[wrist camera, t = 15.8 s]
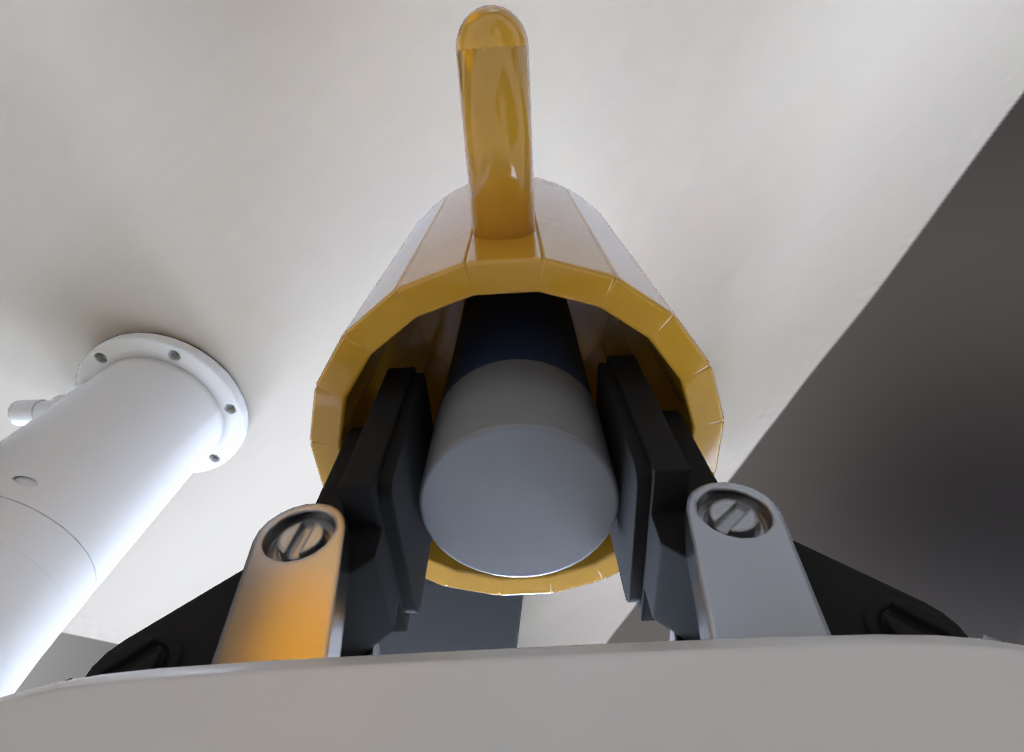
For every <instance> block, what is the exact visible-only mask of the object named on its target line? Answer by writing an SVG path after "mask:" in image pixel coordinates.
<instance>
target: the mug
mask: <svg viewBox="0 0 1024 752" xmlns="http://www.w3.org/2000/svg"><path fill="white" fill-rule="evenodd" d="M456 56H457V67H458V77H459V88H460V99H461V109H462V120H463V131H464V142H465V152H466V163H467V174H468V185H465V186H463V187H461V188H459V189H457V190H455V191H454V192H452V193H450V194H449V195H447V196H446V197H444V198H443V199H442V200H441V201H439V202H438V203H437V204H436V205H434V206H433V207H432V208H431V209H430V210H429V212H428V213H427V214H426V215H425V216H424V217H423V218H422V219H421V220H420V221H419V222H418V223H417V225H416V226H415V228H414V229H413V230H412V232H411V233H410V235H409V236H408V238H407V239H406V241H405V242H404V244H403V245H402V247H401V248H400V250H399V251H398V253H397V254H396V256H395V257H394V259H393V260H392V262H391V263H390V265H389V266H388V268H387V269H386V271H385V272H384V274H383V275H382V277H381V278H380V280H379V281H378V283H377V284H376V286H375V287H374V289H373V290H372V291H371V293H370V294H369V296H368V297H367V299H366V300H365V302H364V303H363V305H362V306H361V308H360V309H359V311H358V312H357V314H356V315H355V317H354V318H353V320H352V321H351V323H350V324H349V326H348V327H347V329H346V330H345V332H344V333H343V335H342V336H341V338H340V340H339V342H338V344H337V346H336V347H335V349H334V351H333V353H332V355H331V357H330V359H329V361H328V363H327V364H326V366H325V368H324V370H323V372H322V374H321V376H320V378H319V379H318V381H317V387H316V388H315V391H314V401H313V412H312V422H311V433H310V440H311V448H312V451H313V454H314V458H315V461H316V465H317V468H318V471H319V475H320V478H321V481H322V485H323V487H324V484H325V482H326V480H327V478H328V476H329V474H330V471H331V469H332V467H333V465H334V463H335V460H336V458H337V456H338V454H339V452H340V450H341V447H342V445H343V443H344V441H345V439H346V436H347V434H348V432H349V431H350V429H352V428H358V427H364V424H365V422H366V419H367V417H368V415H369V412H370V410H371V408H372V405H373V403H374V400H375V398H376V396H377V393H378V391H379V389H380V386H381V384H382V381H383V379H384V377H385V374H386V372H387V370H388V368H402V367H415V369H416V372H417V373H424V374H425V376H426V381H427V388H428V394H429V401H430V407H431V414H432V420H433V427H434V426H435V422H436V417H437V413H438V410H439V407H440V405H441V402H442V400H443V397H444V393H445V388H446V384H447V379H448V375H449V370H450V366H451V361H452V357H453V353H454V348H455V344H456V339H457V335H458V330H459V326H460V321H461V317H462V312H463V308H464V304H465V299H466V298H469V297H472V296H475V295H492V294H509V293H526V292H541V293H545V294H549V295H553V296H557V297H561V298H565V299H567V302H568V306H569V310H570V314H571V317H572V321H573V325H574V329H575V333H576V337H577V341H578V345H579V349H580V352H581V356H582V360H583V364H584V368H585V372H586V376H587V380H588V384H589V387H590V391H591V395H592V398H593V400H594V402H595V404H596V407H597V368H598V363H606V360H607V356H615V355H632V354H634V356H635V358H636V360H637V362H638V364H639V366H640V368H641V370H642V372H643V374H644V376H645V378H646V380H647V382H648V384H649V386H650V388H651V390H652V392H653V394H654V396H655V398H656V400H657V402H658V404H659V406H660V408H661V410H662V411H668V410H676V411H678V412H679V413H680V415H681V416H682V418H683V420H684V422H685V424H686V425H687V427H688V429H689V431H690V433H691V435H692V436H693V438H694V440H695V442H696V444H697V446H698V448H699V449H700V451H701V453H702V455H703V457H704V459H705V460H706V462H707V464H708V466H709V468H710V470H711V471H712V473H713V475H714V472H716V467H717V461H718V455H719V449H720V442H721V436H722V430H723V424H724V422H723V419H724V417H723V412H722V408H721V404H720V400H719V395H718V391H717V387H716V383H715V378H714V374H713V370H712V367H711V366H710V364H709V361H708V360H707V358H706V357H705V355H704V354H703V353H702V351H701V350H700V348H699V347H698V346H697V344H696V343H695V341H694V340H693V339H692V337H691V336H690V335H689V333H688V332H687V330H686V329H685V328H684V326H683V325H682V323H681V322H680V321H679V319H678V318H677V316H676V315H675V314H674V312H673V311H672V310H671V308H670V307H669V306H668V304H667V303H666V302H665V300H664V299H663V298H662V296H661V295H660V294H659V292H658V291H657V289H656V288H655V287H654V285H653V284H652V283H651V281H650V280H649V279H648V277H647V276H646V275H645V273H644V272H643V271H642V269H641V268H640V267H639V265H638V264H637V262H636V261H635V260H634V258H633V257H632V256H631V254H630V253H629V252H628V250H627V249H626V248H625V246H624V245H623V244H622V242H621V241H620V240H619V238H618V237H617V236H616V234H615V233H614V231H613V230H612V229H611V227H610V226H609V225H608V223H607V222H606V221H605V219H604V218H603V217H602V215H601V214H600V213H599V212H598V211H597V210H596V209H595V208H594V207H592V206H591V205H590V204H589V203H588V202H587V201H585V200H584V199H583V198H582V197H580V196H579V195H577V194H576V193H574V192H572V191H571V190H569V189H567V188H565V187H563V186H561V185H558V184H556V183H554V182H551V181H547V180H544V179H540V178H535V177H533V155H532V128H531V101H530V74H529V47H528V38H527V35H526V32H525V29H524V27H523V25H522V23H521V22H520V20H519V19H518V18H517V17H516V16H515V15H514V14H513V13H512V12H511V11H509V10H508V9H506V8H504V7H501V6H497V5H485V6H482V7H479V8H477V9H475V10H474V11H472V12H471V13H470V14H469V15H468V16H467V17H466V18H465V19H464V21H463V23H462V24H461V26H460V29H459V32H458V35H457V40H456ZM618 572H619V568H618V564H617V560H616V556H615V552H614V547H613V543H612V539H611V535H610V533H609V534H608V536H607V537H606V539H605V540H604V541H603V542H602V543H601V545H600V546H599V547H598V548H597V549H596V550H595V551H593V552H592V553H591V554H590V555H589V556H587V557H586V558H584V559H583V560H581V561H580V562H578V563H576V564H574V565H572V566H570V567H567V568H565V569H562V570H560V571H557V572H553V573H549V574H545V575H540V576H532V577H505V576H498V575H492V574H488V573H484V572H481V571H477V570H475V569H472V568H470V567H468V566H465V565H464V564H462V563H460V562H458V561H456V560H455V559H453V558H452V557H450V556H449V555H448V554H446V553H445V552H444V551H443V550H442V549H441V548H440V547H439V546H438V545H437V544H436V543H435V542H434V540H433V539H432V540H431V546H430V552H429V559H428V565H427V571H426V577H425V579H428V580H430V581H433V582H435V583H437V584H440V585H442V586H448V587H451V588H456V589H462V590H468V591H474V592H480V593H486V594H492V595H499V594H500V595H502V596H505V595H527V594H549V593H552V591H553V592H555V593H556V592H560V591H564V590H567V589H571V588H575V587H578V586H582V585H586V584H590V583H593V582H597V581H601V580H603V579H604V578H608V577H610V576H612V575H614V574H616V573H618Z"/></svg>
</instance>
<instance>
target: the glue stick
mask: <svg viewBox="0 0 1024 752" xmlns="http://www.w3.org/2000/svg"><path fill="white" fill-rule="evenodd" d="M419 507H420V513H421V517H422V520H423V523H424V525H425V527H426V529H427V531H428V533H429V534H430V536H431V538H432V539H433V540H434V542H435V543H436V544H437V545H438V546H439V547H440V548H441V549H442V550H443V551H444V552H445V553H446V554H448V555H449V556H450V557H452V558H453V559H455V560H456V561H458V562H460V563H462V564H464V565H465V566H468V567H470V568H472V569H475V570H477V571H481V572H484V573H488V574H492V575H498V576H505V577H532V576H540V575H545V574H549V573H553V572H557V571H560V570H562V569H565V568H567V567H570V566H572V565H574V564H576V563H578V562H580V561H581V560H583V559H584V558H586V557H587V556H589V555H590V554H591V553H592V552H593V551H595V550H596V549H597V548H598V547H599V546H600V545H601V543H602V542H603V541H604V540H605V539H606V537H607V536H608V534H609V533H610V531H611V529H612V527H613V525H614V523H615V520H616V516H617V513H618V508H619V490H618V485H617V480H616V477H615V473H614V469H613V465H612V462H611V458H610V454H609V450H608V447H607V443H606V439H605V435H604V431H603V428H602V424H601V420H600V416H599V413H598V409H597V407H596V404H595V402H594V400H593V398H592V395H591V391H590V387H589V384H588V380H587V376H586V372H585V368H584V364H583V360H582V356H581V352H580V349H579V345H578V341H577V337H576V333H575V329H574V325H573V321H572V317H571V314H570V310H569V306H568V302H567V299H565V298H561V297H557V296H553V295H549V294H545V293H541V292H526V293H509V294H492V295H475V296H472V297H469V298H466V299H465V304H464V308H463V312H462V317H461V321H460V326H459V330H458V335H457V339H456V344H455V348H454V353H453V357H452V361H451V366H450V370H449V375H448V379H447V384H446V388H445V393H444V397H443V400H442V402H441V405H440V407H439V410H438V413H437V417H436V422H435V426H434V430H433V435H432V439H431V443H430V448H429V452H428V456H427V460H426V465H425V469H424V473H423V478H422V482H421V486H420V491H419Z"/></svg>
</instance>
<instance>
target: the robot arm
mask: <svg viewBox="0 0 1024 752" xmlns="http://www.w3.org/2000/svg"><path fill="white" fill-rule="evenodd" d="M597 409H598V413H599V416H600V420H601V424H602V428H603V431H604V435H605V439H606V443H607V447H608V450H609V454H610V458H611V462H612V465H613V469H614V473H615V477H616V480H617V485H618V490H619V508H618V513H617V516H616V520H615V523H614V525H613V527H612V529H611V531H610V535H611V539H612V543H613V547H614V552H615V556H616V560H617V564H618V568H619V572H620V577H621V581H622V585H623V589H624V593H625V597H626V600H627V602H637V605H638V609H639V613H640V617H641V620H642V621H649V620H656V621H658V622H659V623H661V624H662V625H664V626H665V627H667V628H668V629H670V641H663V642H642V643H641V642H639V643H615V644H593V645H571V646H550V647H528V648H507V649H486V650H466V651H445V652H424V653H405V654H386V655H380V647H379V642H380V641H381V640H382V639H383V638H385V637H386V636H387V635H388V634H390V633H398V632H407V628H408V622H409V617H410V613H418V612H419V610H420V607H421V601H422V595H423V589H424V583H425V577H426V571H427V565H428V559H429V552H430V546H431V540H432V538H431V536H430V534H429V533H428V531H427V529H426V527H425V525H424V523H423V520H422V517H421V513H420V507H419V491H420V486H421V482H422V478H423V473H424V469H425V465H426V460H427V456H428V452H429V448H430V443H431V439H432V435H433V430H434V427H433V420H432V414H431V407H430V401H429V394H428V388H427V381H426V376H425V374H424V373H417V372H416V369H415V367H402V368H388V370H387V372H386V374H385V377H384V379H383V381H382V384H381V386H380V389H379V391H378V393H377V396H376V398H375V400H374V403H373V405H372V408H371V410H370V412H369V415H368V417H367V419H366V422H365V424H364V427H358V428H352V429H350V431H349V432H348V434H347V436H346V439H345V441H344V443H343V445H342V447H341V450H340V452H339V454H338V456H337V458H336V460H335V463H334V465H333V467H332V469H331V471H330V474H329V476H328V478H327V480H326V482H325V484H324V487H323V489H322V491H321V493H320V495H319V498H318V500H317V502H316V504H305V505H301V506H298V507H294V508H291V509H289V510H287V511H285V512H282V513H280V514H279V515H277V516H276V517H274V518H273V519H271V520H270V521H268V522H267V523H266V524H265V525H264V526H263V527H262V528H261V529H260V530H259V532H258V533H257V535H256V537H255V539H254V541H253V543H252V546H251V549H250V552H249V555H248V557H247V560H246V563H245V566H244V569H243V570H242V571H240V572H238V573H237V574H235V575H233V576H232V577H230V578H228V579H227V580H225V581H223V582H222V583H220V584H218V585H217V586H215V587H213V588H212V589H210V590H208V591H207V592H205V593H203V594H201V595H200V596H198V597H196V598H195V599H193V600H191V601H190V602H188V603H186V604H185V605H183V606H181V607H180V608H178V609H176V610H175V611H173V612H171V613H170V614H168V615H166V616H165V617H163V618H161V619H160V620H158V621H156V622H154V623H153V624H151V625H149V626H148V627H146V628H144V629H143V630H141V631H139V632H138V633H136V634H134V635H133V636H131V637H129V638H128V639H126V640H124V641H123V642H121V643H120V644H119V645H117V646H116V647H115V648H113V649H112V650H110V651H109V652H107V653H106V654H105V655H104V656H103V657H102V658H101V659H100V660H99V661H98V662H97V663H96V664H95V665H94V666H93V667H92V668H91V670H90V671H89V672H88V674H87V675H86V677H84V678H79V679H72V678H70V679H68V680H65V681H62V682H56V683H53V684H49V685H45V686H41V687H38V688H33V689H30V690H26V691H22V692H18V693H15V691H16V690H17V689H18V687H19V686H20V685H21V683H22V682H23V681H24V679H25V678H26V677H27V675H28V674H29V673H30V671H31V670H32V669H33V667H34V666H35V665H36V663H37V662H38V661H39V659H40V658H41V657H42V655H43V654H44V653H45V652H46V650H47V649H48V648H49V647H50V645H51V644H52V643H53V642H54V640H55V639H56V638H57V637H58V635H59V634H60V633H61V632H62V630H63V629H64V628H65V627H66V625H67V624H68V623H69V622H70V621H71V619H72V618H73V617H74V616H75V615H76V613H77V612H78V611H79V610H80V608H81V607H82V606H83V605H84V604H85V602H86V601H87V600H88V599H89V597H90V596H91V595H92V594H93V592H94V591H95V590H96V589H97V588H98V586H99V585H100V584H101V583H102V582H103V580H104V579H105V578H106V577H107V576H108V574H109V573H110V572H111V571H112V569H113V568H114V567H115V566H116V565H117V563H118V562H119V561H120V560H121V559H122V557H123V556H124V555H125V554H126V553H127V551H128V550H129V549H130V548H131V547H132V545H133V544H134V543H135V542H136V541H137V539H138V538H139V537H140V536H141V535H142V533H143V532H144V531H145V530H146V528H147V527H148V526H149V525H150V524H151V522H152V521H153V520H154V519H155V518H156V516H157V515H158V514H159V513H160V512H161V510H162V509H163V508H164V507H165V506H166V504H167V503H168V502H169V501H170V500H171V498H172V497H173V496H174V495H175V494H176V492H177V491H178V490H179V489H180V488H181V486H182V485H183V484H184V483H185V481H186V480H187V479H188V478H189V477H190V475H191V474H192V473H195V472H203V471H206V470H210V469H213V468H216V467H218V466H220V465H222V464H223V463H225V462H226V461H228V460H229V459H230V458H231V457H232V456H233V455H234V454H235V453H236V451H237V450H238V449H239V447H240V446H241V445H242V443H243V441H244V439H245V437H246V434H247V429H248V411H247V407H246V404H245V400H244V398H243V396H242V394H241V392H240V390H239V388H238V386H237V385H236V383H235V382H234V381H233V379H232V378H231V377H230V375H229V374H228V373H227V372H226V371H225V370H224V369H223V368H222V367H221V366H220V365H219V364H218V363H217V362H216V361H214V360H213V359H212V358H210V357H209V356H207V355H206V354H205V353H203V352H202V351H200V350H198V349H196V348H195V347H193V346H191V345H189V344H187V343H185V342H182V341H179V340H177V339H174V338H171V337H167V336H163V335H158V334H153V333H130V334H123V335H119V336H116V337H114V338H111V339H108V340H107V341H105V342H103V343H102V344H100V345H98V346H97V347H95V348H94V349H93V350H92V351H90V352H89V353H88V354H87V355H86V356H85V357H84V359H83V361H82V362H81V364H80V365H79V368H78V372H77V375H76V388H75V389H74V390H72V391H71V392H70V393H68V394H67V395H59V396H56V397H54V398H53V399H52V400H20V401H15V402H14V403H12V404H11V405H10V407H9V409H8V418H9V420H10V422H12V423H13V424H14V425H19V426H22V427H21V428H19V429H18V430H16V431H15V432H14V433H12V434H11V435H9V436H8V437H6V438H5V439H4V440H2V441H1V442H0V752H1024V646H1022V645H1016V644H1011V643H1005V642H1003V641H999V640H997V639H994V638H991V637H988V636H985V635H982V637H981V638H980V639H978V638H968V636H967V635H966V634H965V633H964V632H963V630H961V628H960V627H959V626H958V625H957V624H956V623H954V622H953V621H952V620H950V618H948V617H947V616H946V615H944V614H943V613H942V612H940V611H939V610H937V609H935V608H933V607H932V606H930V605H928V604H926V603H925V602H923V601H921V600H919V599H916V598H914V597H912V596H910V595H908V594H906V593H904V592H902V591H899V590H897V589H895V588H893V587H891V586H889V585H887V584H885V583H882V582H880V581H878V580H876V579H874V578H872V577H870V576H868V575H865V574H863V573H861V572H859V571H857V570H855V569H853V568H851V567H848V566H846V565H844V564H842V563H840V562H838V561H836V560H833V559H831V558H829V557H827V556H825V555H823V554H821V553H819V552H816V551H814V550H812V549H810V548H808V547H806V546H804V545H802V544H799V543H797V542H795V541H793V540H792V538H791V536H790V533H789V531H788V528H787V526H786V523H785V521H784V518H783V516H782V514H781V512H780V511H779V509H778V508H777V506H776V505H775V504H774V503H773V502H772V501H771V500H770V499H768V498H767V497H766V496H765V495H763V494H761V493H759V492H757V491H756V490H754V489H752V488H749V487H746V486H742V485H739V484H733V483H727V482H719V483H718V482H717V481H716V479H715V477H714V475H713V473H712V471H711V470H710V468H709V466H708V464H707V462H706V460H705V459H704V457H703V455H702V453H701V451H700V449H699V448H698V446H697V444H696V442H695V440H694V438H693V436H692V435H691V433H690V431H689V429H688V427H687V425H686V424H685V422H684V420H683V418H682V416H681V415H680V413H679V412H678V411H676V410H668V411H662V410H661V408H660V406H659V404H658V402H657V400H656V398H655V396H654V394H653V392H652V390H651V388H650V386H649V384H648V382H647V380H646V378H645V376H644V374H643V372H642V370H641V368H640V366H639V364H638V362H637V360H636V358H635V356H634V354H632V355H615V356H607V360H606V363H598V368H597Z"/></svg>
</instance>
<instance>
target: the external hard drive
mask: <svg viewBox="0 0 1024 752" xmlns="http://www.w3.org/2000/svg"><path fill="white" fill-rule="evenodd" d="M522 600H523V595H505V596H502V595H500V594H499V595H492V594H486V593H480V592H474V591H468V590H462V589H456V588H451V587H448V586H442V585H440V584H437V583H435V582H433V581H430V580H428V579H425V583H424V589H423V595H422V601H421V607H420V610H419V612H418V613H410V617H409V622H408V628H407V632H398V633H390V634H388V635H387V636H386V637H385V638H383V639H382V640H381V641H380V642H379V647H380V655H386V654H405V653H424V652H445V651H466V650H486V649H507V648H517V642H518V633H519V625H520V617H521V608H522Z"/></svg>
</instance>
